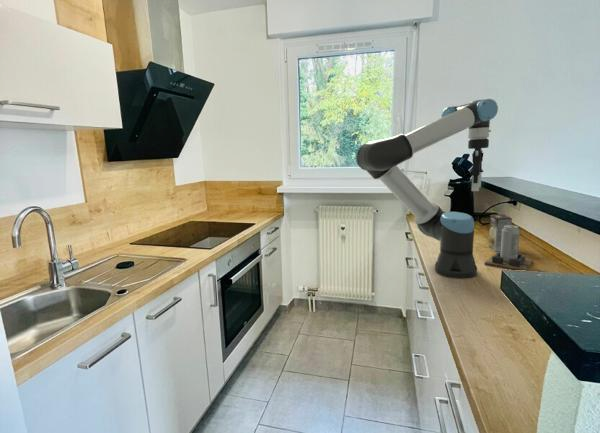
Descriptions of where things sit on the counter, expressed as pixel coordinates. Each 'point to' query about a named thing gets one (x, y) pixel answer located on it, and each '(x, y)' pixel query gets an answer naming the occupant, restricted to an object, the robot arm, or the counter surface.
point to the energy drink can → (509, 243)
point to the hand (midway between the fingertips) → (476, 189)
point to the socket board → (513, 264)
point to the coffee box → (497, 230)
